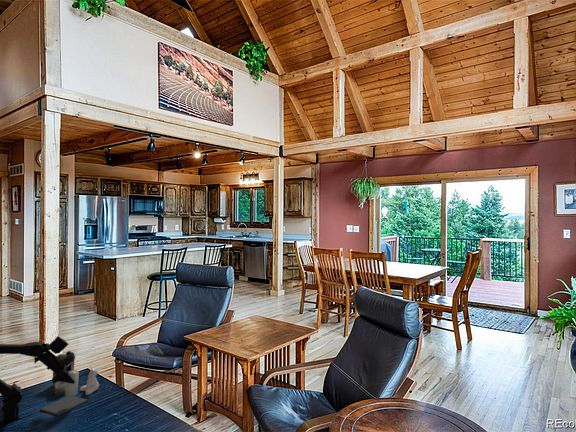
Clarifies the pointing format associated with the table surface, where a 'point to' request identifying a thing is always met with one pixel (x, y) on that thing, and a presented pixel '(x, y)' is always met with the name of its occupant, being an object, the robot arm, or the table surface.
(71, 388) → the light bulb
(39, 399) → the table surface
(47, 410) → the mat
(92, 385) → the sitting furry creature
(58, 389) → the tin
